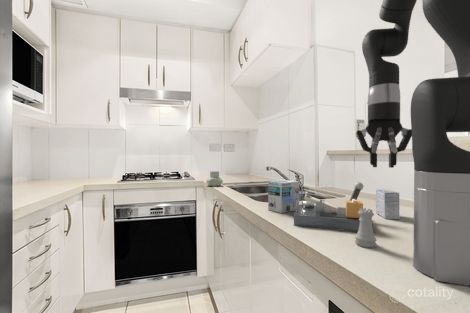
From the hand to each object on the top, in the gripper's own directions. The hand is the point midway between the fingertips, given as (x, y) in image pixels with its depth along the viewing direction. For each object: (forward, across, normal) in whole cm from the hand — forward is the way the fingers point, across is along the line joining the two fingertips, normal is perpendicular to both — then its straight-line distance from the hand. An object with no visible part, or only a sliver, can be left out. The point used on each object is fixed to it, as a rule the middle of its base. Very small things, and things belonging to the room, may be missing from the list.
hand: (383, 167), depth 66 cm
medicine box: (+17, +5, +19) cm, 26 cm away
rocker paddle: (+12, -16, +5) cm, 20 cm away
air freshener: (+17, -84, +73) cm, 113 cm away
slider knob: (+14, -7, 0) cm, 16 cm away
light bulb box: (+17, -29, +16) cm, 37 cm away
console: (+17, -13, +4) cm, 22 cm away
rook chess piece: (+17, -6, -14) cm, 23 cm away
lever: (+13, -7, +10) cm, 18 cm away
